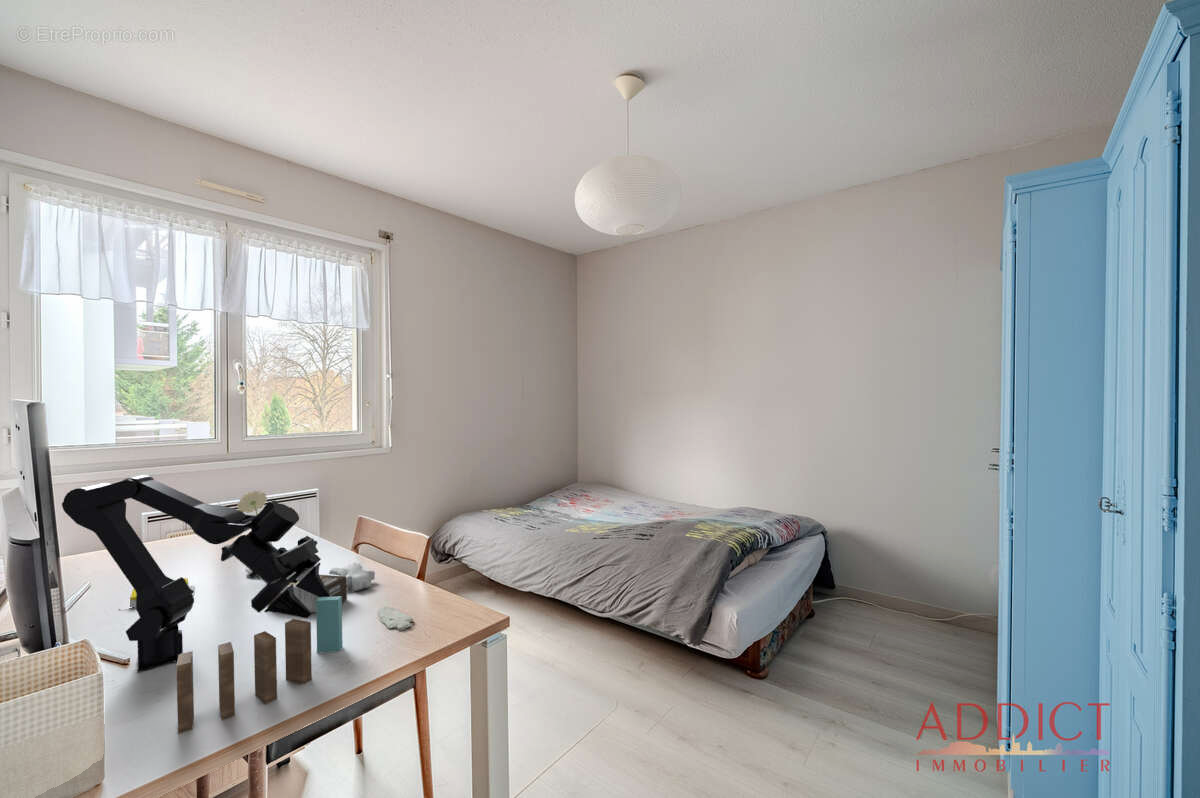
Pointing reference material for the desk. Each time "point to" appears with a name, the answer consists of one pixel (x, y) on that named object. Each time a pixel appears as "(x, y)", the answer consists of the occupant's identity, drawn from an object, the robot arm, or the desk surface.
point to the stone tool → (394, 618)
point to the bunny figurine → (355, 576)
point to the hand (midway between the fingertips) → (319, 606)
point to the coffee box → (332, 584)
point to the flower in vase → (252, 506)
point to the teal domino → (329, 623)
